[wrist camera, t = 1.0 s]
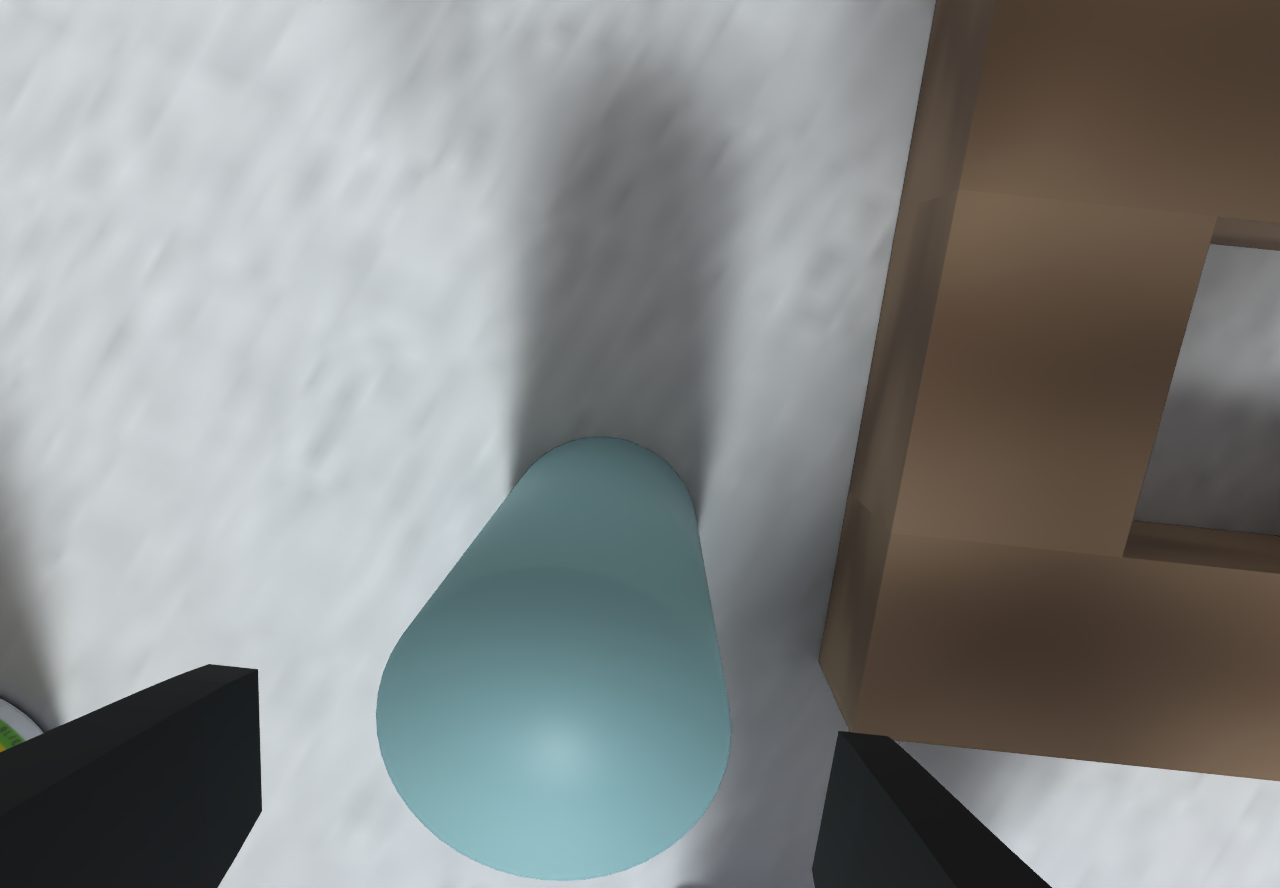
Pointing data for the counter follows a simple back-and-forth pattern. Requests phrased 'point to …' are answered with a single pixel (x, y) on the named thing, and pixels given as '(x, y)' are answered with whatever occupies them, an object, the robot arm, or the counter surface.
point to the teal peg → (565, 675)
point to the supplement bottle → (15, 726)
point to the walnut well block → (1060, 396)
